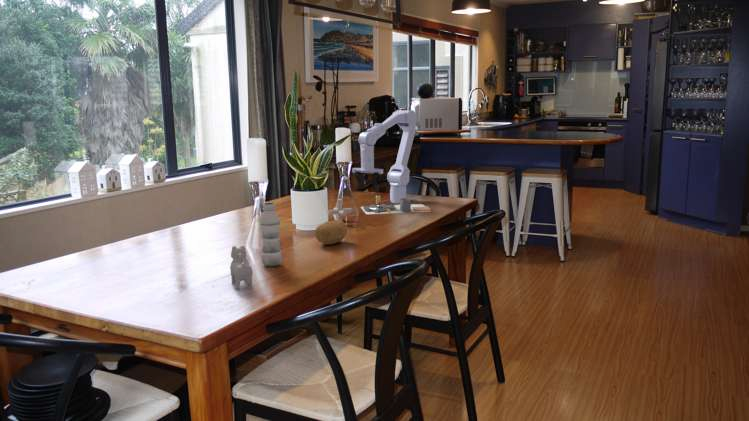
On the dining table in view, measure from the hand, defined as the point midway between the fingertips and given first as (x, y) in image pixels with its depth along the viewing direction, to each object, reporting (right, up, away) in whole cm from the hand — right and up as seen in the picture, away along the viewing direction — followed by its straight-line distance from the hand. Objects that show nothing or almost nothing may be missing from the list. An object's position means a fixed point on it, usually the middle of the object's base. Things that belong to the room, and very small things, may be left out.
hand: (367, 189), depth 279 cm
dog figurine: (-36, -31, -101) cm, 112 cm away
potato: (-13, -22, -58) cm, 63 cm away
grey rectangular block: (+17, -10, -7) cm, 21 cm away
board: (+12, -10, -3) cm, 16 cm away
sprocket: (+5, -9, -4) cm, 12 cm away
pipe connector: (-11, -15, -26) cm, 32 cm away
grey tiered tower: (-30, -27, -83) cm, 92 cm away
